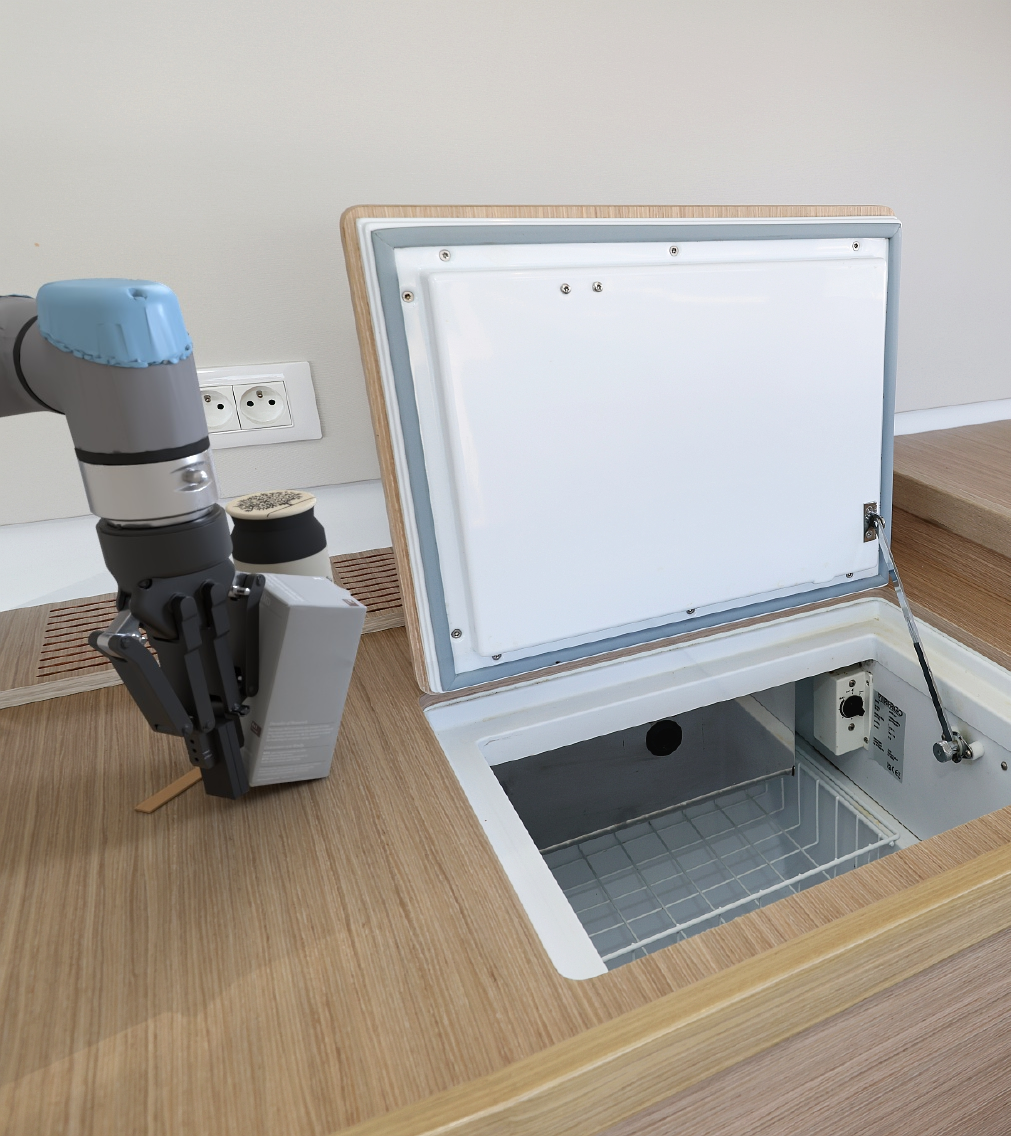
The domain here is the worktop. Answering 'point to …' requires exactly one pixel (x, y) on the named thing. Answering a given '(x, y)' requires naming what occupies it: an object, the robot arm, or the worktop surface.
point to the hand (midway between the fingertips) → (227, 791)
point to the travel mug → (278, 534)
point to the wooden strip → (170, 791)
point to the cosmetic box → (300, 678)
